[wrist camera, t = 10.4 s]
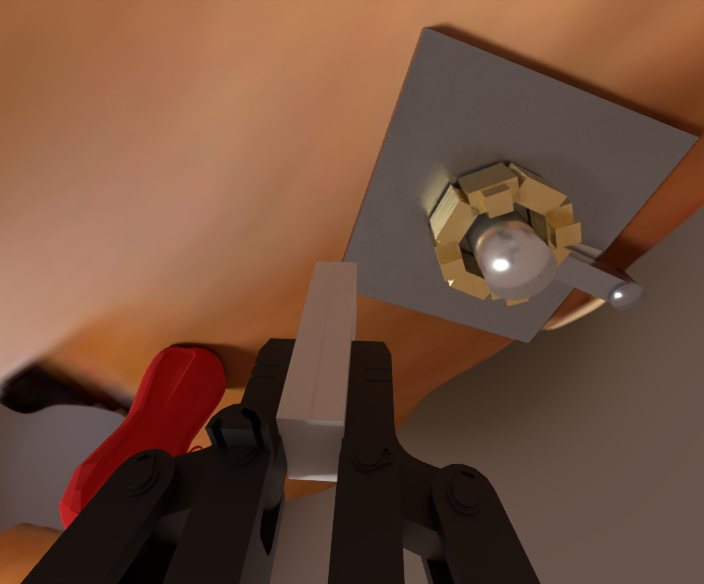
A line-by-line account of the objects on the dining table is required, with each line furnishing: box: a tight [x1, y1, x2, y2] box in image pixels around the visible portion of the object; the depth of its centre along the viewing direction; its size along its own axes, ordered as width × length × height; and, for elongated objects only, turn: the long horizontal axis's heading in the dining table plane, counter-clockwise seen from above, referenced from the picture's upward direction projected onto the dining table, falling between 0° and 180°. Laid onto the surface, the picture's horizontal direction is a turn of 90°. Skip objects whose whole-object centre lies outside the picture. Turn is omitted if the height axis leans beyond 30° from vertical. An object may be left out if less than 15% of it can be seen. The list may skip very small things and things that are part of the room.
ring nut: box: [429, 162, 647, 311], centre depth 32 cm, size 21×11×6 cm, turn 67°
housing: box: [342, 27, 699, 343], centre depth 31 cm, size 24×24×11 cm
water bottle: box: [59, 346, 226, 529], centre depth 40 cm, size 9×11×25 cm
